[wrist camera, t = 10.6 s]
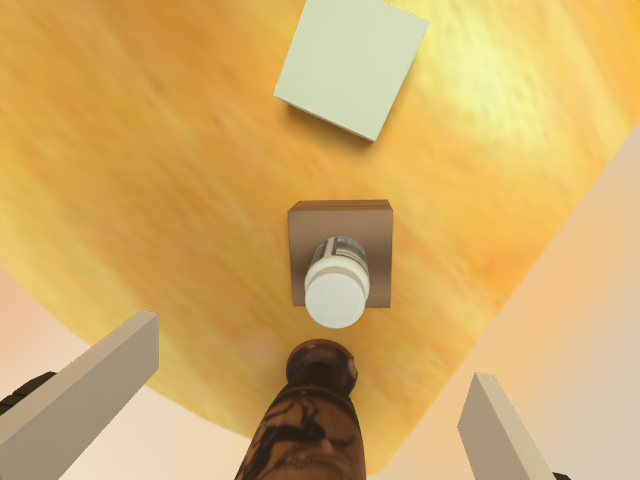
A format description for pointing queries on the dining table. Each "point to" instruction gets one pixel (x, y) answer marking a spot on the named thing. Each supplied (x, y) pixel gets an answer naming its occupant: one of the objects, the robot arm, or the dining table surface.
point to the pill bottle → (337, 283)
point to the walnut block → (350, 221)
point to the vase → (310, 421)
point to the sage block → (349, 62)
